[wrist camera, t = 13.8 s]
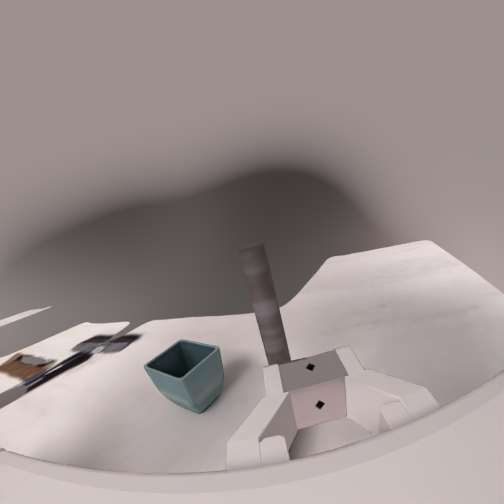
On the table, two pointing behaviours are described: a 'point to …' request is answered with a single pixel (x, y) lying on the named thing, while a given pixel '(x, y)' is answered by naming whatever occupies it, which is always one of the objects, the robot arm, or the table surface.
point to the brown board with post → (265, 302)
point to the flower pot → (188, 374)
